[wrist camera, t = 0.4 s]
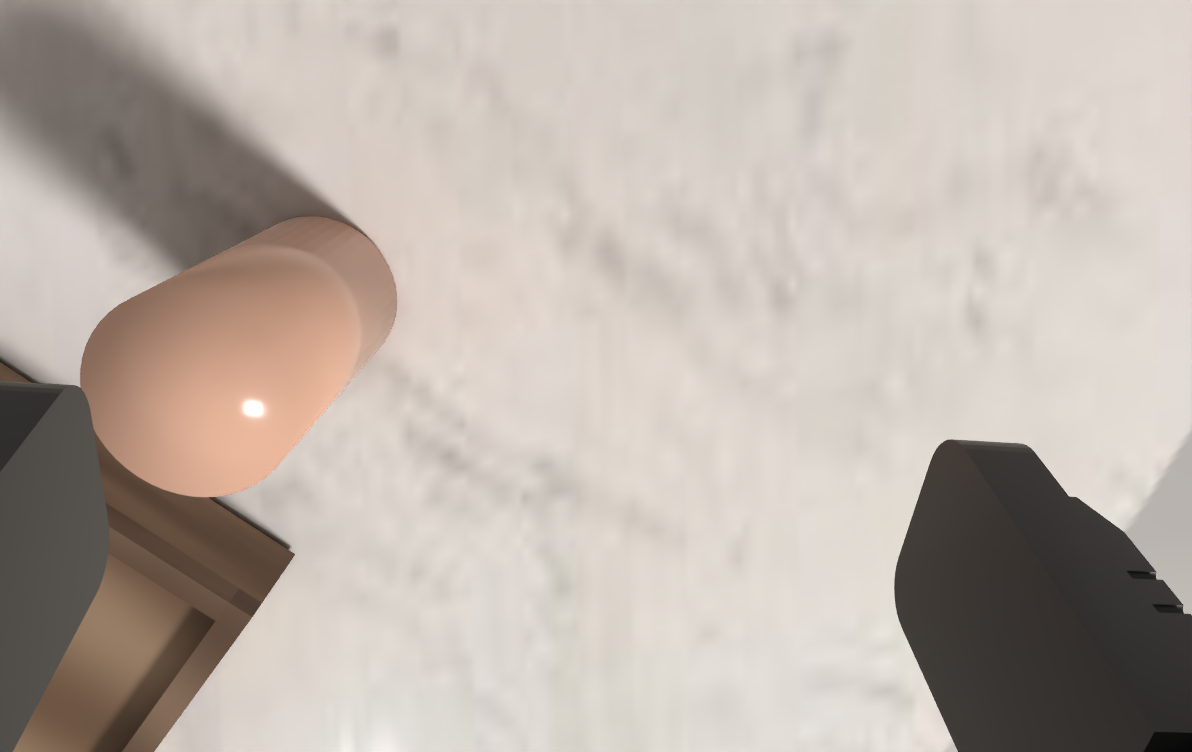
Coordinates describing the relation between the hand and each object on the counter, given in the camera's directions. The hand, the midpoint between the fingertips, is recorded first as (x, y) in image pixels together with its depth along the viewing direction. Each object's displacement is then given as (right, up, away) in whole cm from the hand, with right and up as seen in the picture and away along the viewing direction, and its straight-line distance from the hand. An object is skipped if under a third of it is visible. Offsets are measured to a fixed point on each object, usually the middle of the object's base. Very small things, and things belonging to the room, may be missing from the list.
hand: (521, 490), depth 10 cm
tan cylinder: (-8, +4, +21) cm, 22 cm away
